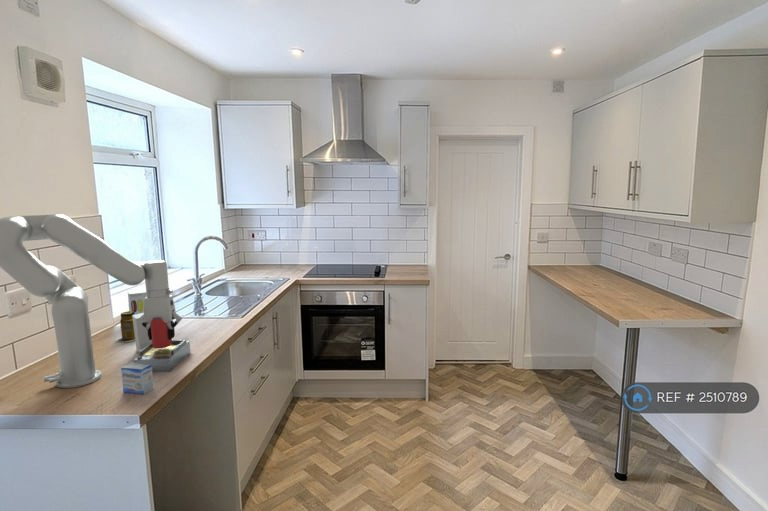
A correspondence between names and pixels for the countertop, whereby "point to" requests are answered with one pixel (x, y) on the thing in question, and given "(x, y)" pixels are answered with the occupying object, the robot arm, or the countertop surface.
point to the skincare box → (140, 333)
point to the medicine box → (137, 378)
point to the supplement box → (136, 300)
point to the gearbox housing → (164, 356)
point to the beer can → (159, 333)
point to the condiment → (127, 327)
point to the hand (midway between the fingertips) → (161, 338)
